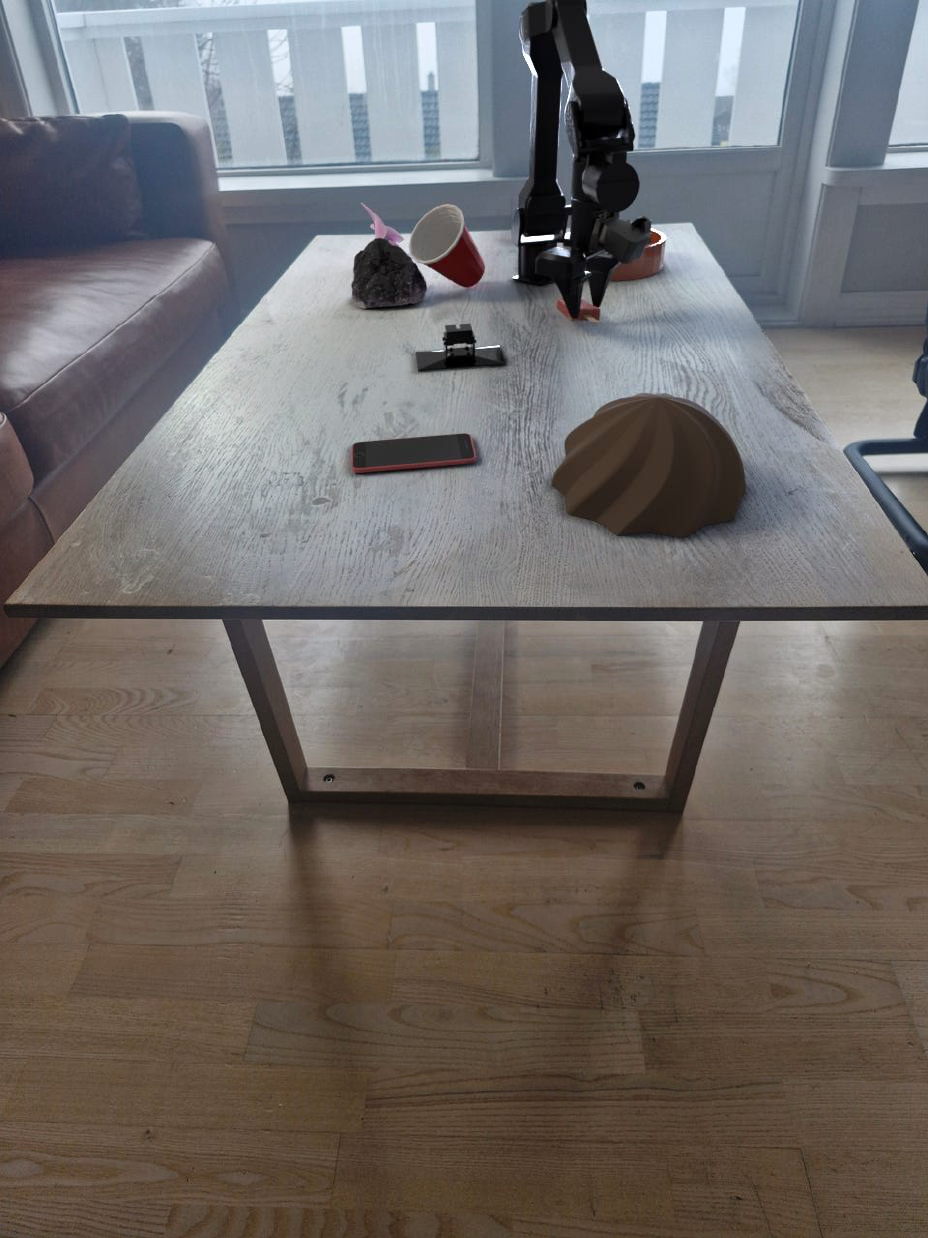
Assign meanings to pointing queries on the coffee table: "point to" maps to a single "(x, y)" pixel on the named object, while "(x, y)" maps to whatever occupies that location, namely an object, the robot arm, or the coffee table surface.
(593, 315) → the popsicle
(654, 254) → the bowl
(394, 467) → the smartphone
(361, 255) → the crystal cluster
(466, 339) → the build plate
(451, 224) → the plastic cup
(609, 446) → the decorative dome
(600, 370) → the coffee table surface
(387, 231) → the lily
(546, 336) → the coffee table surface
